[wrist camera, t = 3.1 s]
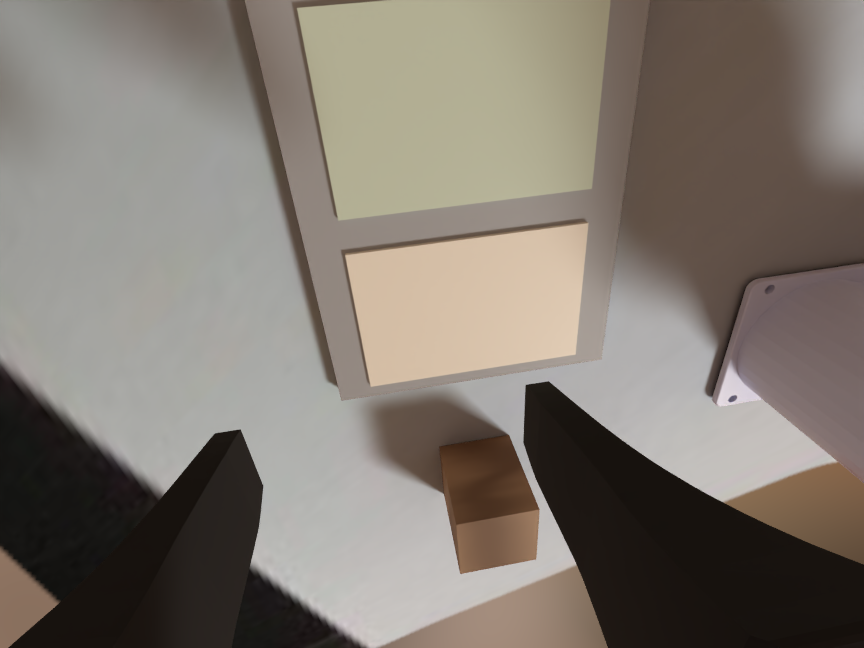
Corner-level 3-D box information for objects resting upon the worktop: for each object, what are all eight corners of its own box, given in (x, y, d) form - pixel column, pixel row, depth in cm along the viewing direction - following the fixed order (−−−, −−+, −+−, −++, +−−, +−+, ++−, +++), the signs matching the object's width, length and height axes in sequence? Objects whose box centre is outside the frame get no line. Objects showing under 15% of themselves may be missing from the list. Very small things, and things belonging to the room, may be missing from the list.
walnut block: (508, 434, 25) (539, 509, 21) (508, 481, 28) (536, 559, 23) (439, 446, 25) (456, 524, 21) (443, 493, 27) (460, 573, 23)
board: (643, -45, 15) (660, -51, 14) (594, 350, 23) (603, 361, 22) (246, -13, 14) (239, -17, 13) (342, 390, 22) (341, 403, 21)
